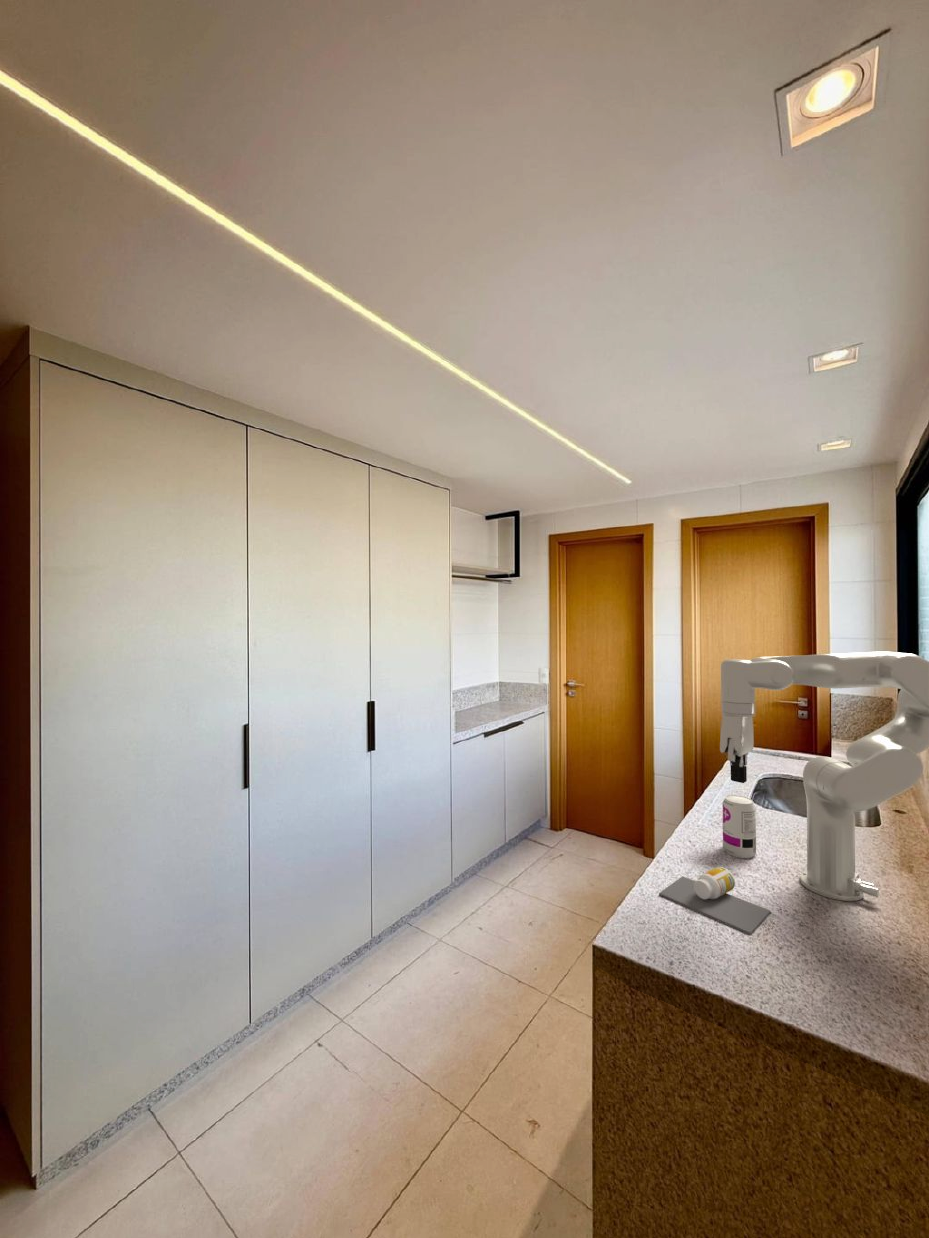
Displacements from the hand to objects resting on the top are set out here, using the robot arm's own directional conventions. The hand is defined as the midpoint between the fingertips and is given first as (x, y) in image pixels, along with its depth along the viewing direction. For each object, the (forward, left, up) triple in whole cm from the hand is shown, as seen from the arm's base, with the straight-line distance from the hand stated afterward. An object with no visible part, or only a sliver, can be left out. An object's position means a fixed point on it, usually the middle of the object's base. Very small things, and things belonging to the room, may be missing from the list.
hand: (738, 781), depth 125 cm
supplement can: (+6, -17, -25) cm, 31 cm away
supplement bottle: (0, +8, -22) cm, 23 cm away
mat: (0, +15, -25) cm, 29 cm away
